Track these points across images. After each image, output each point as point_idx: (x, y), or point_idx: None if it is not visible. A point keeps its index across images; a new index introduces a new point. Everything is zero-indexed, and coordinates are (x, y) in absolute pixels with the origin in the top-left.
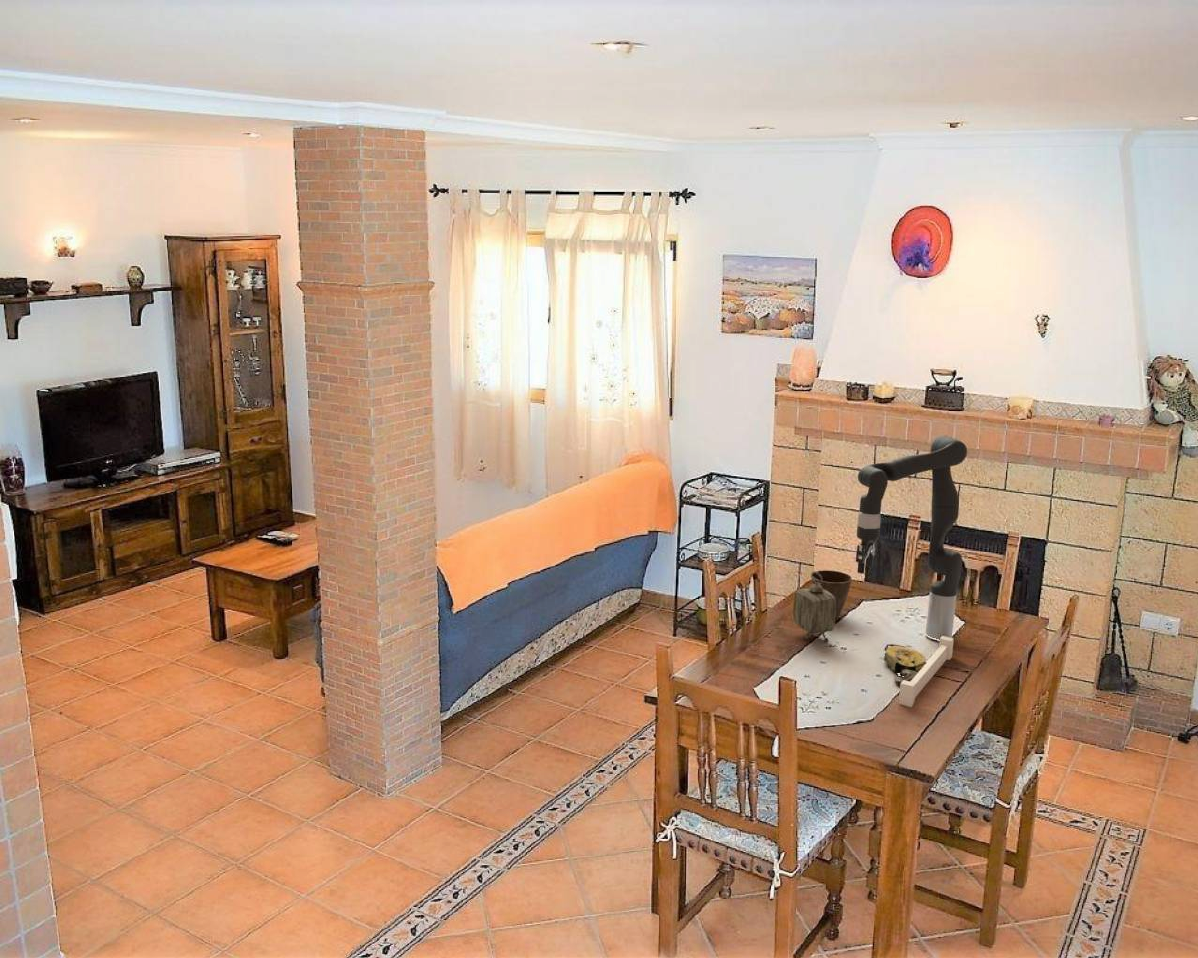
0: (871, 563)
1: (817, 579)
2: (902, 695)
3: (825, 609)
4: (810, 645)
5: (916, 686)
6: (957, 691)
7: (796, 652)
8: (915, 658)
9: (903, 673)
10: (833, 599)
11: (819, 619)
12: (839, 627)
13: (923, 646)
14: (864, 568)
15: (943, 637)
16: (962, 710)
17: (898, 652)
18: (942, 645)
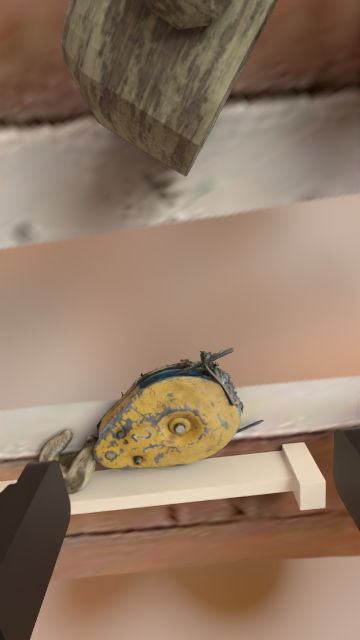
0: (356, 520)
1: None
2: None
3: (130, 133)
4: None
5: None
6: (121, 533)
7: (22, 120)
8: (171, 452)
9: (78, 453)
10: (186, 141)
11: (108, 128)
12: (342, 123)
13: (334, 393)
14: (45, 573)
15: (315, 487)
16: None
17: (164, 415)
18: (288, 480)
